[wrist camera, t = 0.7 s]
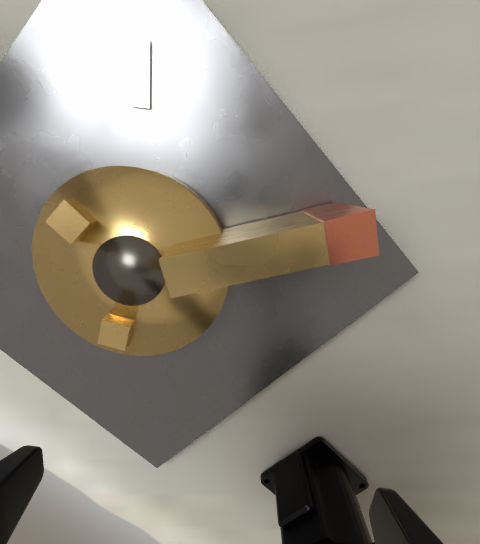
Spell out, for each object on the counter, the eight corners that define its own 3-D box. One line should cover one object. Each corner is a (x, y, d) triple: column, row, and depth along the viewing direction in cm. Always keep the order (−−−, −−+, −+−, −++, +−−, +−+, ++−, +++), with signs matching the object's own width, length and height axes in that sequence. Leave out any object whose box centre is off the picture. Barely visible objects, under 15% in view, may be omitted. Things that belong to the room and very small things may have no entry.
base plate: (409, 267, 18) (420, 273, 17) (160, 456, 24) (156, 470, 22) (124, -88, 14) (113, -113, 12) (-109, 248, 19) (-132, 252, 18)
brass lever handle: (353, 223, 16) (399, 239, 12) (162, 383, 20) (135, 448, 15) (201, 37, 14) (176, -42, 9) (14, 258, 17) (-76, 287, 13)
